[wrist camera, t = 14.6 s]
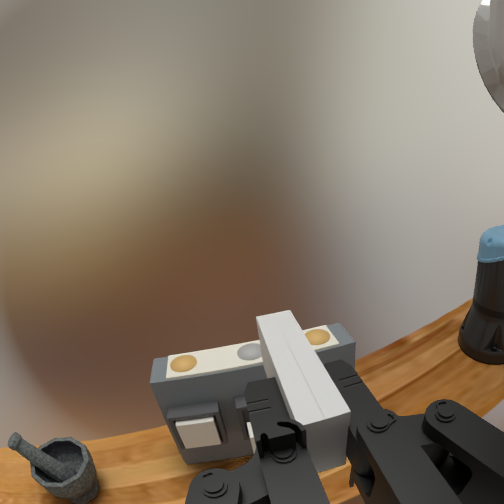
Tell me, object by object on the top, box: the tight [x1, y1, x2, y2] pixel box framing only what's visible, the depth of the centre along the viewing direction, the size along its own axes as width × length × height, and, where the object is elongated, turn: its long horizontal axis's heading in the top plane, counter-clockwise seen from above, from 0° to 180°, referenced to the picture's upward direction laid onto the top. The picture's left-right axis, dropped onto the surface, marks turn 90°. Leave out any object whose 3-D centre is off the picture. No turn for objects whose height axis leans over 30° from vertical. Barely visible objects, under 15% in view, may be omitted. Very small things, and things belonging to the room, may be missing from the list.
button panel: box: [150, 323, 356, 464], centre depth 38 cm, size 24×7×16 cm, turn 99°
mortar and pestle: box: [8, 432, 99, 504], centre depth 30 cm, size 11×9×12 cm
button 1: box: [176, 415, 221, 449], centre depth 34 cm, size 4×2×4 cm, turn 99°
